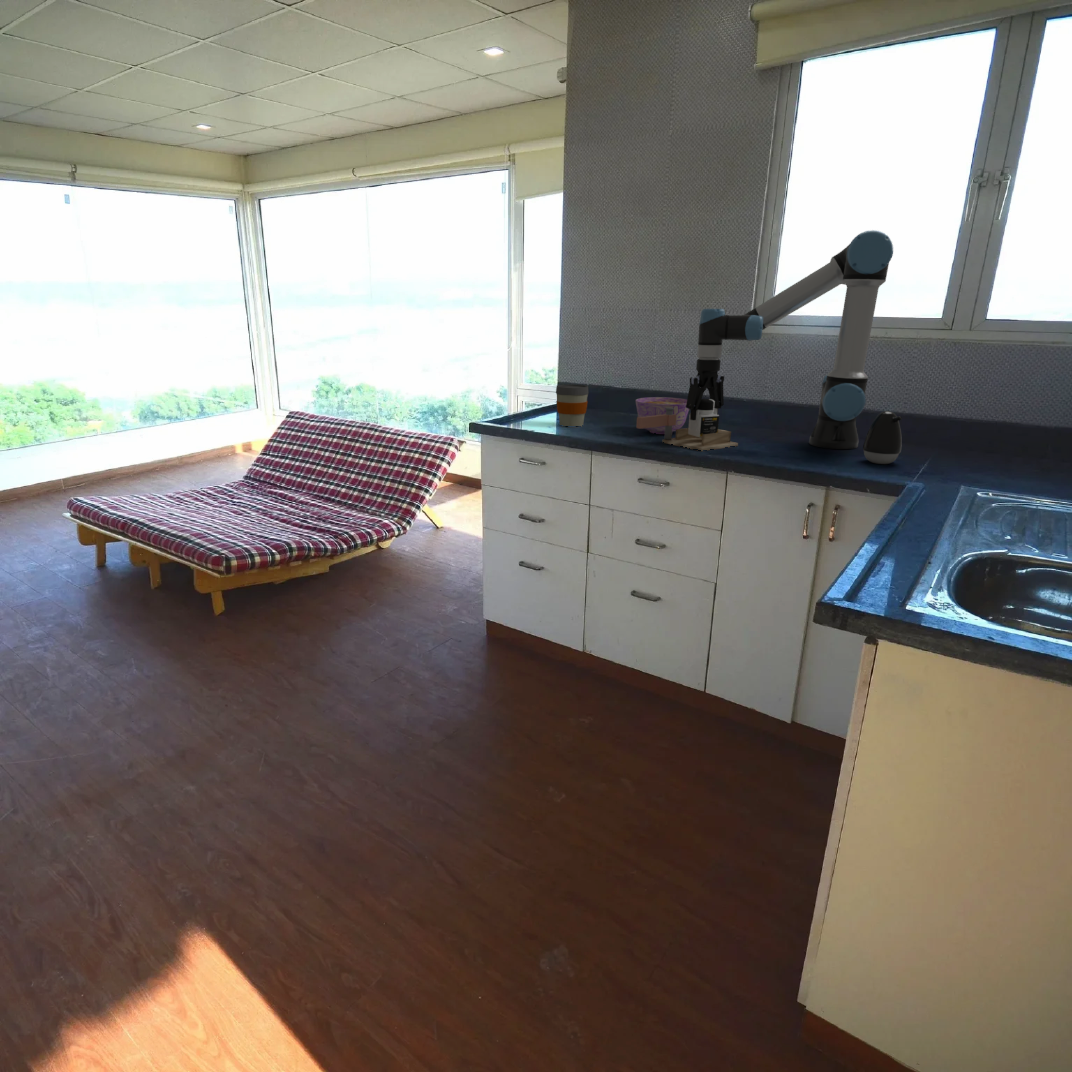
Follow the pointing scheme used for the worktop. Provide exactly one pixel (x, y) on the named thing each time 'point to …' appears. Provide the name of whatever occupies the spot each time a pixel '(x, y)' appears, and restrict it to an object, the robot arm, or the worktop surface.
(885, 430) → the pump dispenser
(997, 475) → the worktop surface
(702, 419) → the medicine bottle
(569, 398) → the reusable coffee cup
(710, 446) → the cradle
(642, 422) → the hammer
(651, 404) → the bowl of food
